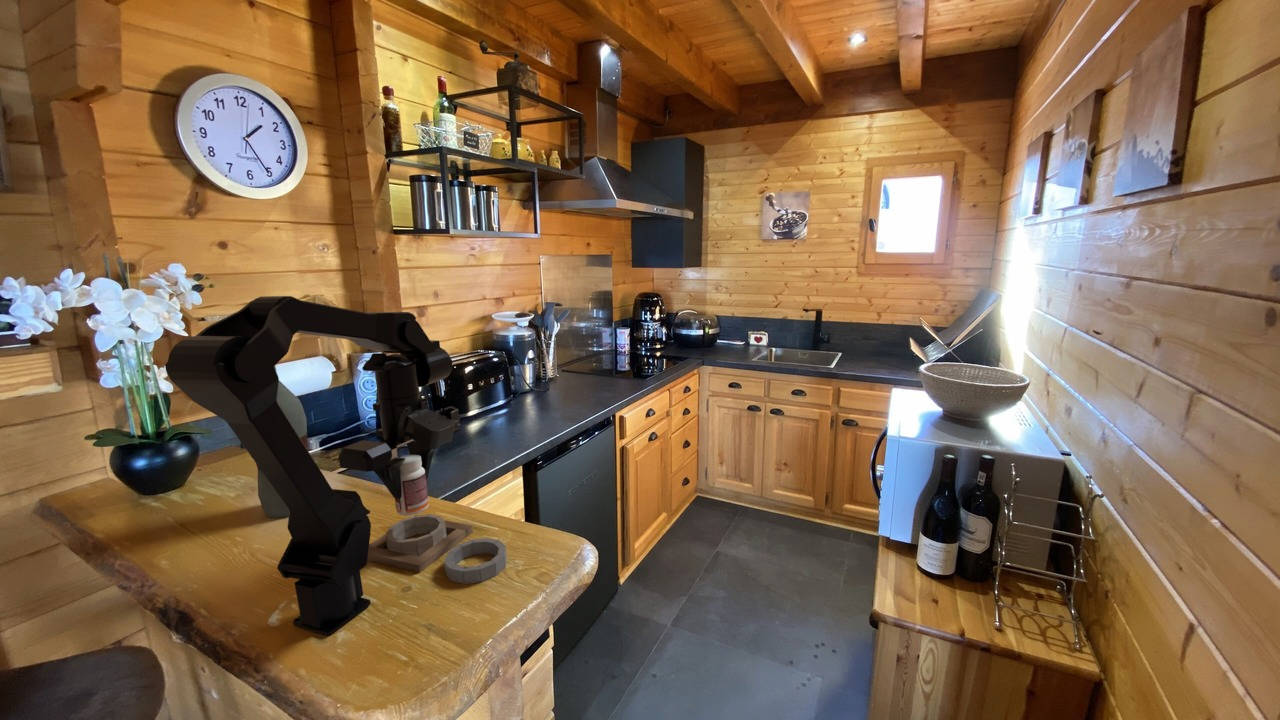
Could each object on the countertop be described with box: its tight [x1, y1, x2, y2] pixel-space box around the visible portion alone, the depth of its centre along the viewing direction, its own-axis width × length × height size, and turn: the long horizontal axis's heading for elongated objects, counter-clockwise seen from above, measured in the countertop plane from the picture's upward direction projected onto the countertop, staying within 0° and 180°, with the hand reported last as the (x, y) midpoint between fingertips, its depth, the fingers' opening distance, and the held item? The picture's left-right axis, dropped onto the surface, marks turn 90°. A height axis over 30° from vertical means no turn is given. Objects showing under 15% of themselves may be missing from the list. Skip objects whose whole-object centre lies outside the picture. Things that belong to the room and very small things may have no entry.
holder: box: [443, 537, 508, 585], centre depth 78 cm, size 8×8×2 cm
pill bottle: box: [394, 454, 430, 517], centre depth 82 cm, size 5×5×8 cm
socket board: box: [367, 513, 474, 573], centre depth 84 cm, size 12×12×3 cm
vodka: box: [255, 365, 309, 519], centre depth 96 cm, size 9×9×30 cm
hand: (410, 491), depth 83 cm, fingers closed on pill bottle, 5 cm apart
